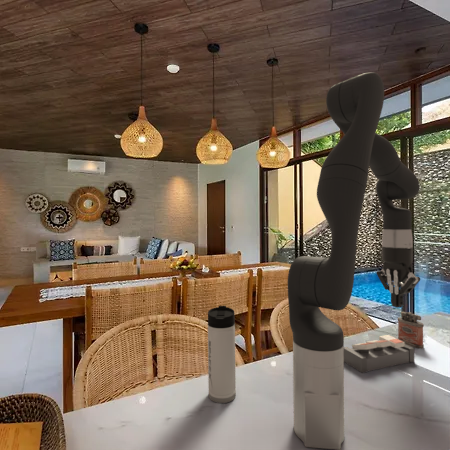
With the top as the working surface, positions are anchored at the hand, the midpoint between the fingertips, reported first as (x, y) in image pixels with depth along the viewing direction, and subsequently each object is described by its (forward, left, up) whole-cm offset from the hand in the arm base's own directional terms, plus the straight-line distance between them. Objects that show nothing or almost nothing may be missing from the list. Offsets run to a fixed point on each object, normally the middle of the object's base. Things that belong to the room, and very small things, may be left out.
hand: (397, 306), depth 87 cm
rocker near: (-3, +10, -11) cm, 15 cm away
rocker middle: (0, +5, -11) cm, 12 cm away
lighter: (+14, -9, -16) cm, 23 cm away
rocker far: (+2, +1, -11) cm, 11 cm away
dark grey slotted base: (0, +5, -16) cm, 16 cm away
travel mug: (-22, +47, -16) cm, 54 cm away
